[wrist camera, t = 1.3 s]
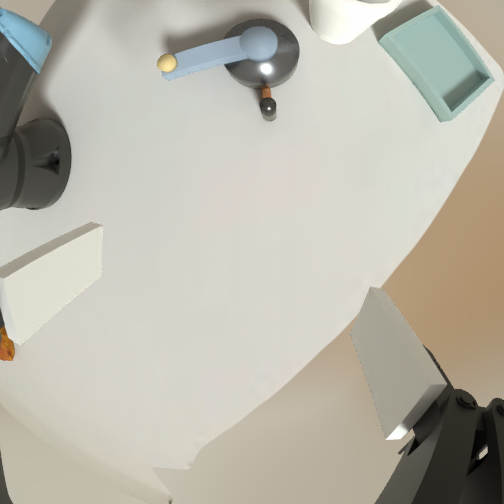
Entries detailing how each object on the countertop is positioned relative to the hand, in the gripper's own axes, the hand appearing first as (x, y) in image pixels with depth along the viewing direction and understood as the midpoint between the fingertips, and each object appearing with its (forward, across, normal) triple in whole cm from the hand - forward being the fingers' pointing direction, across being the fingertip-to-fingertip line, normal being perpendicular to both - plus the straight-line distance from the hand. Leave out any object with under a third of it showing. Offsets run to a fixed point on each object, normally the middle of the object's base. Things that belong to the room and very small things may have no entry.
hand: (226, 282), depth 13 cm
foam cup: (+23, +5, +26) cm, 36 cm away
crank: (+20, -8, +17) cm, 27 cm away
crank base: (+23, -3, +17) cm, 29 cm away
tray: (+23, +20, +27) cm, 41 cm away
